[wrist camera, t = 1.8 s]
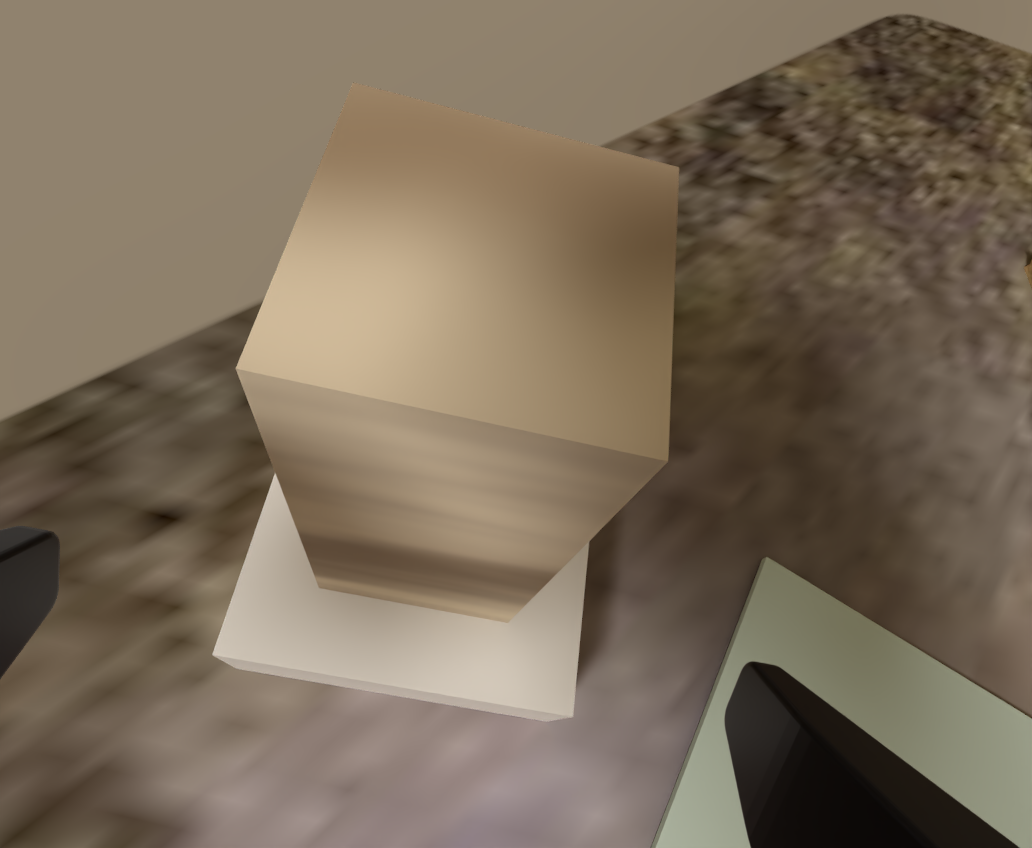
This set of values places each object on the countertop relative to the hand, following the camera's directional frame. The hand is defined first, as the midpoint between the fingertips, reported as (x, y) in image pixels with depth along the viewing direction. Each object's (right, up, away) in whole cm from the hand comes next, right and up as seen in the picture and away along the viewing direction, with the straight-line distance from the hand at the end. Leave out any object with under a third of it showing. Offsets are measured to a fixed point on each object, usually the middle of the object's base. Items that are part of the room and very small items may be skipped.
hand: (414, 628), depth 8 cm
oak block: (-1, 0, +10) cm, 10 cm away
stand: (-2, -1, +12) cm, 13 cm away
